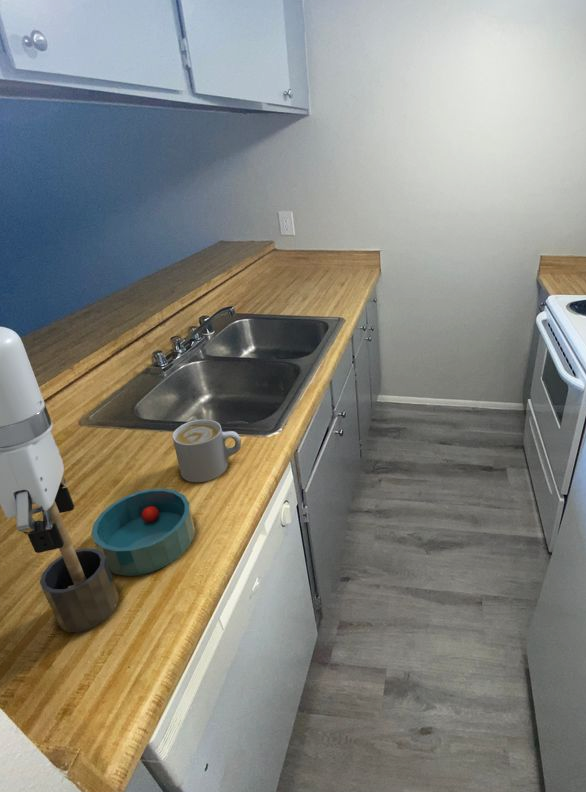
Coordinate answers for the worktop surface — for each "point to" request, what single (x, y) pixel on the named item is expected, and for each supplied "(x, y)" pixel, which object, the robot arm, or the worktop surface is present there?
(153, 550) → the bowl
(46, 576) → the crock
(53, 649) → the worktop surface
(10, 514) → the robot arm
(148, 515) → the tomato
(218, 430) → the coffee mug
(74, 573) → the paddle
